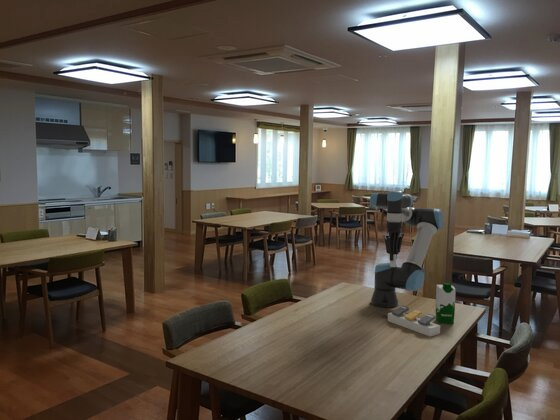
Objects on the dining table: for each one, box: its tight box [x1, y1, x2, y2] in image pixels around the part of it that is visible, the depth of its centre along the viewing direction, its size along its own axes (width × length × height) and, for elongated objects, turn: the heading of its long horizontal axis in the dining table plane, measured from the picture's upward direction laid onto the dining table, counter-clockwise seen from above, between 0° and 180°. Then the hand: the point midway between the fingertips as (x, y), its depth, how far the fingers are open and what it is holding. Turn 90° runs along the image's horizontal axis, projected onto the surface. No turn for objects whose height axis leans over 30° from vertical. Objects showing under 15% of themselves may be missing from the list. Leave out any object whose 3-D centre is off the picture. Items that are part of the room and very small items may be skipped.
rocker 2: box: [404, 309, 423, 321], centre depth 227 cm, size 8×4×1 cm, turn 124°
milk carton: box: [435, 282, 457, 325], centre depth 236 cm, size 9×9×20 cm
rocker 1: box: [391, 305, 410, 316], centre depth 234 cm, size 8×4×1 cm, turn 124°
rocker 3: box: [418, 313, 437, 325], centre depth 220 cm, size 8×4×1 cm, turn 124°
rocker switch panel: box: [379, 311, 441, 338], centre depth 231 cm, size 7×34×5 cm, turn 34°
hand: (392, 266), depth 241 cm, fingers closed
